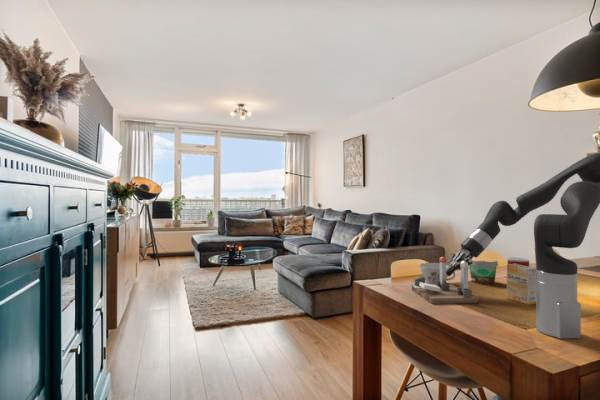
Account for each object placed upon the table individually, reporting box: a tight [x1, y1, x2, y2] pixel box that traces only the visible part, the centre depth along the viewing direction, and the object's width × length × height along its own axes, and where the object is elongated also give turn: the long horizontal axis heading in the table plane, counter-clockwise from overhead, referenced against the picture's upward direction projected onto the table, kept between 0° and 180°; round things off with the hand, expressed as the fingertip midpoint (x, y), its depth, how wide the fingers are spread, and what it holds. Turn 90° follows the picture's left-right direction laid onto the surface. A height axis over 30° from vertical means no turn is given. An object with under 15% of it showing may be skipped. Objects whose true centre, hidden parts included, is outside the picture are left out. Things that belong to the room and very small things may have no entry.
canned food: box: [507, 257, 530, 267], centre depth 147 cm, size 8×8×11 cm
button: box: [414, 276, 426, 286], centre depth 137 cm, size 4×4×3 cm
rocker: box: [419, 282, 441, 292], centre depth 128 cm, size 4×6×1 cm
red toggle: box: [438, 256, 447, 287], centre depth 132 cm, size 3×3×12 cm
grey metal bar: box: [460, 261, 469, 294], centre depth 123 cm, size 3×3×12 cm
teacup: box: [419, 262, 456, 284], centre depth 149 cm, size 15×12×8 cm
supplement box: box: [506, 263, 536, 306], centre depth 122 cm, size 8×5×13 cm, turn 21°
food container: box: [469, 259, 499, 285], centre depth 149 cm, size 12×6×10 cm, turn 76°
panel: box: [409, 281, 479, 305], centre depth 130 cm, size 20×18×5 cm
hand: (446, 274), depth 133 cm, fingers closed
